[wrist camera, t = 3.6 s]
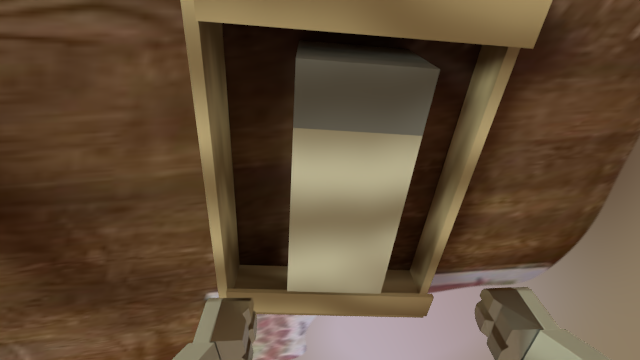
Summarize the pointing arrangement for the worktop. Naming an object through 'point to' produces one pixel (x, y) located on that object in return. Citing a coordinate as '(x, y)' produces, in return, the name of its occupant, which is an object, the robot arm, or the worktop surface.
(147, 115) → the worktop surface
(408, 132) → the capped box
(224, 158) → the wooden frame
